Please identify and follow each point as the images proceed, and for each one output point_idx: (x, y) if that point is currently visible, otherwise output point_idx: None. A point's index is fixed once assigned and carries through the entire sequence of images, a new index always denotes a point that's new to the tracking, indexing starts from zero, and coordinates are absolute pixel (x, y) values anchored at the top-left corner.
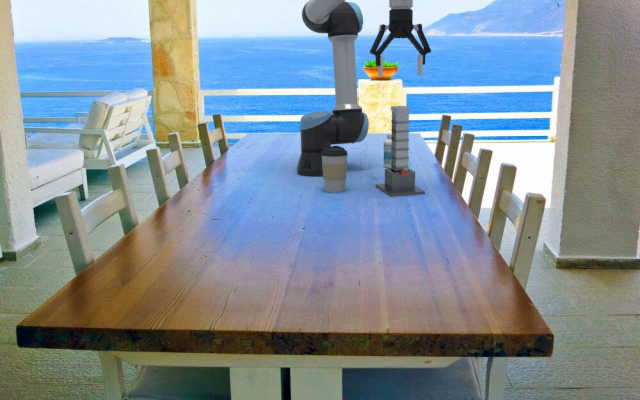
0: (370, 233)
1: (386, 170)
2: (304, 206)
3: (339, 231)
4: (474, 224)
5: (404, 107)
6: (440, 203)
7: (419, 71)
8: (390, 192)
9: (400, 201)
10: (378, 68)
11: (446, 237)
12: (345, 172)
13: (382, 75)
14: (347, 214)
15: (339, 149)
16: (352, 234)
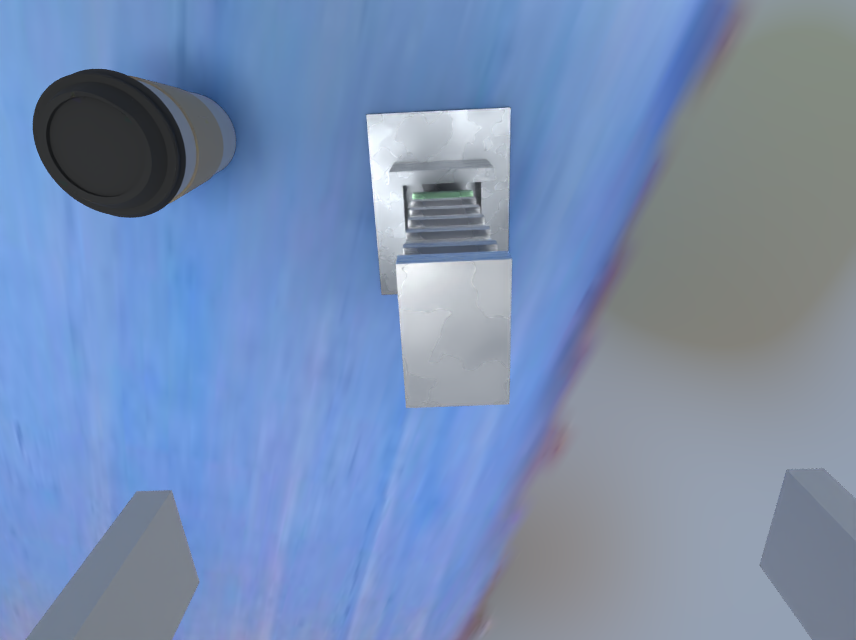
0: (259, 587)
1: (390, 197)
2: (95, 345)
3: (194, 565)
4: (495, 578)
5: (472, 384)
6: (504, 404)
7: (803, 587)
8: (386, 276)
9: (397, 356)
10: (64, 607)
11: (402, 633)
12: (208, 174)
13: (186, 593)
14: (221, 451)
15: (125, 197)
16: (220, 586)
